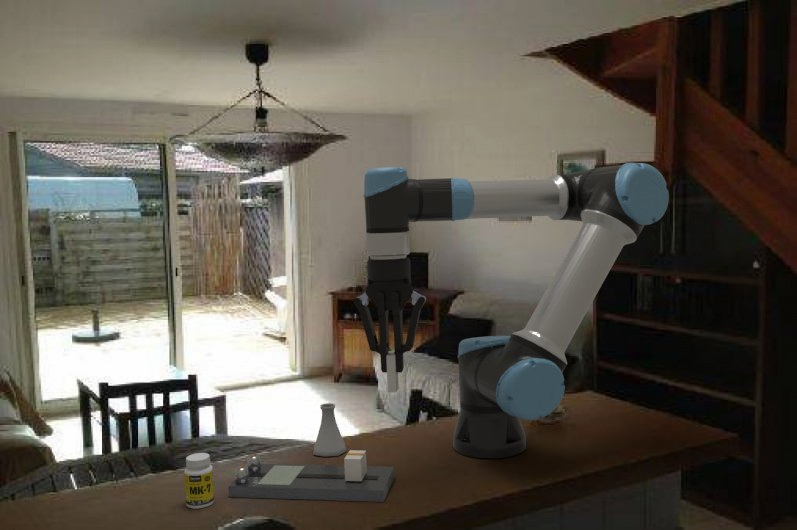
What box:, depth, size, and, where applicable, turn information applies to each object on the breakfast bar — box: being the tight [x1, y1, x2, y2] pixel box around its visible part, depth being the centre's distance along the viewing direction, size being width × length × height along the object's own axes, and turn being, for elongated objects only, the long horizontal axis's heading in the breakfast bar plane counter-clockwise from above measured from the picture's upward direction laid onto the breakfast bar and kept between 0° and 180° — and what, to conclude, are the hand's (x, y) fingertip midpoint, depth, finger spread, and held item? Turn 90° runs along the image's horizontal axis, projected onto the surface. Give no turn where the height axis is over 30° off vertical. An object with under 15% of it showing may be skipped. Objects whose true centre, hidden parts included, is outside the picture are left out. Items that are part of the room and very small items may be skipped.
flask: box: [312, 402, 347, 458], centre depth 143 cm, size 7×7×10 cm
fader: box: [343, 449, 367, 481], centre depth 123 cm, size 3×4×4 cm
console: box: [228, 453, 395, 503], centre depth 125 cm, size 28×11×5 cm, turn 81°
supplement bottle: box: [184, 452, 215, 510], centre depth 119 cm, size 5×5×8 cm
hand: (393, 390), depth 121 cm, fingers closed
